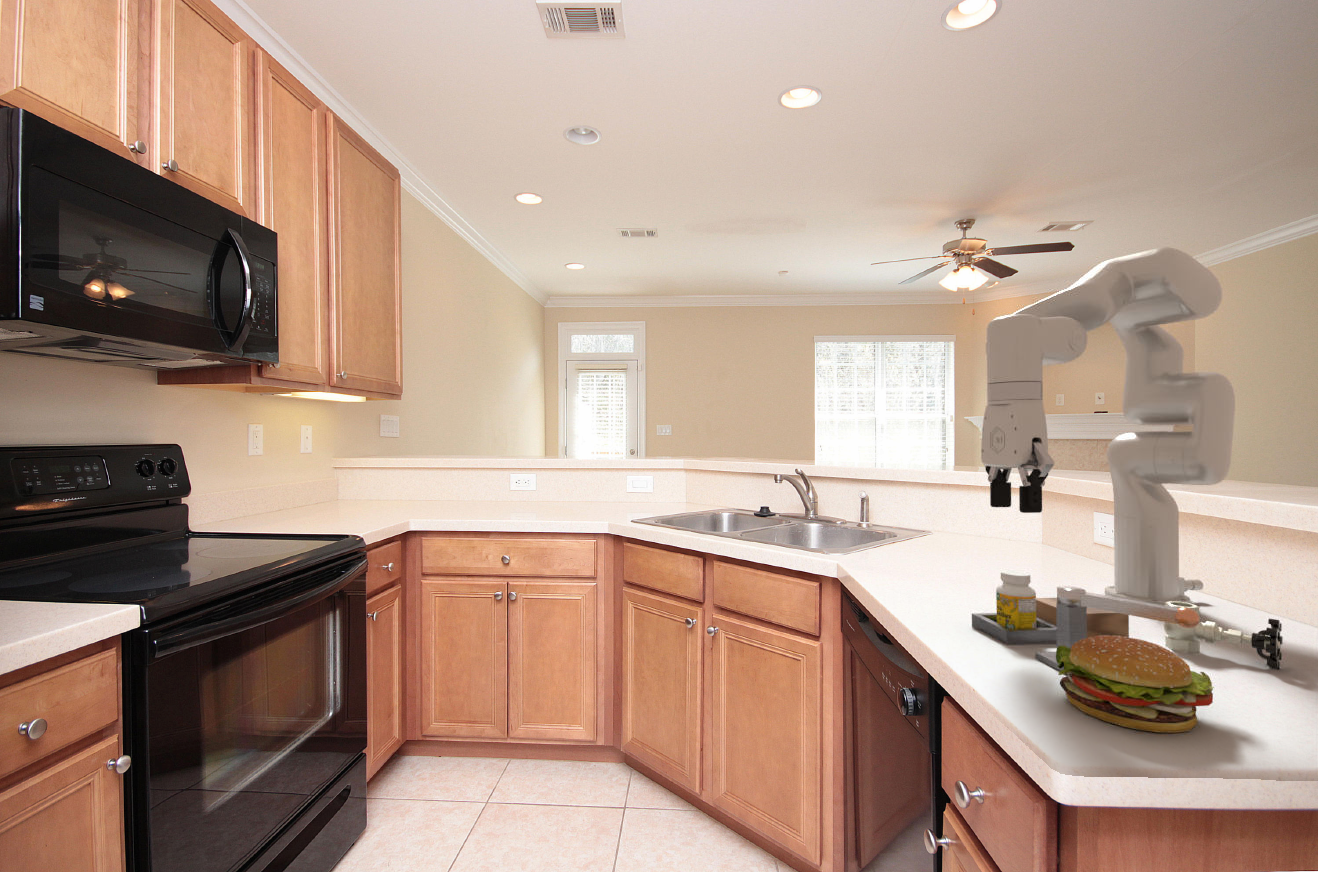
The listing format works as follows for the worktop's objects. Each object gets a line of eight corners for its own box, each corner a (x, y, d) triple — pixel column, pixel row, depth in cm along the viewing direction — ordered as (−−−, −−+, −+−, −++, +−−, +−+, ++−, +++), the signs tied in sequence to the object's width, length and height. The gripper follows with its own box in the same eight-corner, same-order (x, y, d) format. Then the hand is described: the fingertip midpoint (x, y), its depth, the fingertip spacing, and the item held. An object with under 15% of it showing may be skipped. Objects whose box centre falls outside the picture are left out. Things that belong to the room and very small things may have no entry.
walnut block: (1083, 620, 101) (1083, 597, 101) (1128, 638, 92) (1128, 612, 92) (1032, 622, 100) (1032, 598, 100) (1072, 640, 91) (1072, 613, 92)
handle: (1203, 627, 72) (1203, 607, 72) (1195, 632, 70) (1195, 612, 70) (1062, 600, 84) (1062, 583, 84) (1053, 604, 82) (1052, 587, 82)
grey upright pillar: (1076, 656, 85) (1075, 598, 85) (1110, 673, 79) (1110, 610, 79) (1035, 657, 84) (1034, 599, 84) (1066, 674, 78) (1066, 611, 78)
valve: (1158, 651, 87) (1276, 676, 78) (1157, 605, 87) (1275, 625, 78) (1169, 641, 91) (1283, 664, 82) (1169, 597, 91) (1282, 615, 82)
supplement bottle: (1044, 639, 92) (1043, 576, 92) (1010, 640, 92) (1009, 577, 92) (1021, 628, 97) (1021, 568, 97) (989, 629, 97) (988, 569, 97)
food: (1252, 737, 62) (1252, 659, 62) (1127, 744, 61) (1126, 665, 61) (1135, 683, 76) (1134, 619, 76) (1030, 688, 75) (1030, 623, 75)
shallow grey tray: (1024, 624, 99) (1024, 612, 99) (1064, 642, 90) (1064, 629, 90) (971, 625, 99) (971, 613, 99) (1006, 644, 90) (1006, 631, 90)
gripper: (960, 399, 103) (961, 503, 103) (1028, 391, 86) (1029, 517, 86) (1002, 398, 104) (1003, 503, 104) (1078, 391, 86) (1079, 516, 86)
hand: (1015, 508), depth 95 cm, fingers open, 6 cm apart
